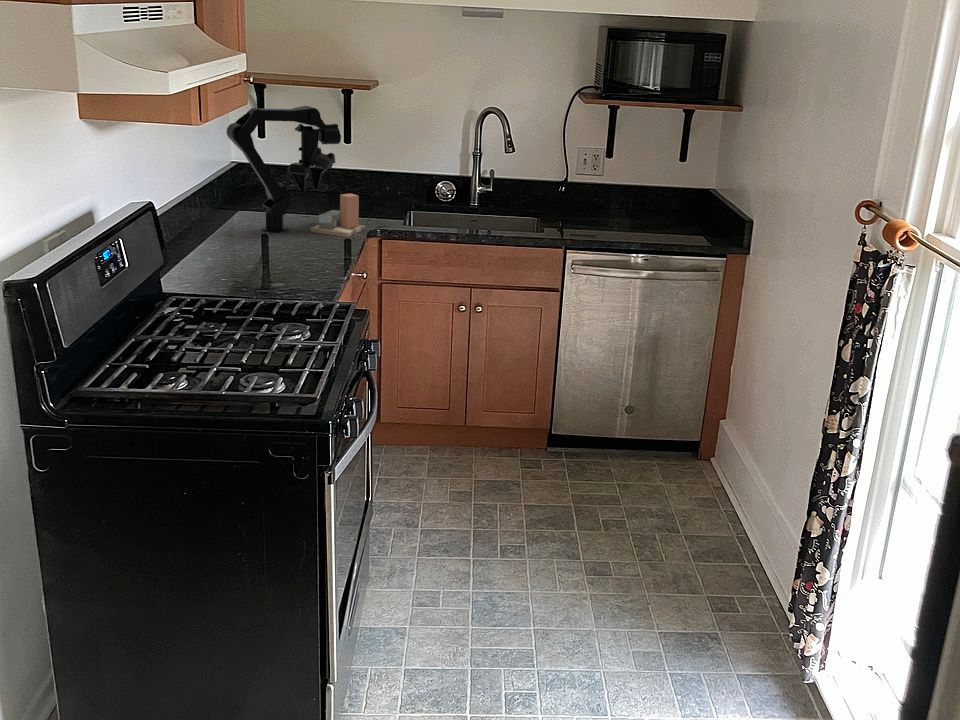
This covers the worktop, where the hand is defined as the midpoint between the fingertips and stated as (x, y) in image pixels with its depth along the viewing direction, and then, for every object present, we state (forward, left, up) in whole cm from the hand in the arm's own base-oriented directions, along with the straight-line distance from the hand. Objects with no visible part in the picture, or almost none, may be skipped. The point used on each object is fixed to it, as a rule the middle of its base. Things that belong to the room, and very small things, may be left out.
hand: (309, 190), depth 321 cm
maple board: (+2, -10, -13) cm, 17 cm away
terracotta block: (+4, -13, -12) cm, 18 cm away
